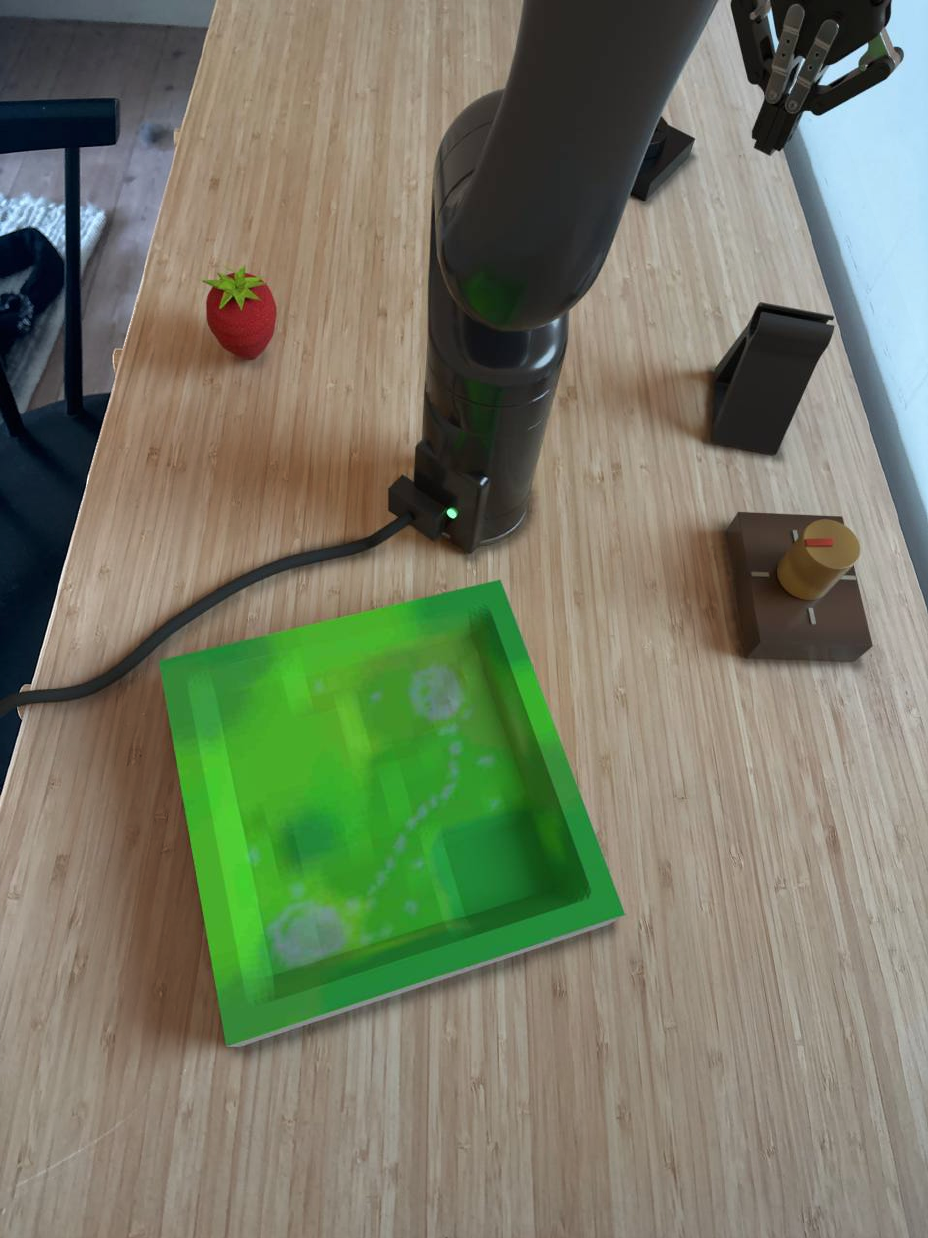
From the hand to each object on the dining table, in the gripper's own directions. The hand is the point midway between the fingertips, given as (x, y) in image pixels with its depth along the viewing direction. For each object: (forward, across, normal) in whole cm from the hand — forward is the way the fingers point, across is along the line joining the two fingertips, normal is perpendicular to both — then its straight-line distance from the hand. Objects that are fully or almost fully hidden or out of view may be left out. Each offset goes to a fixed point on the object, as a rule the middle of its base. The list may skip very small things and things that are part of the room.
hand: (767, 147), depth 68 cm
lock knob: (+16, +21, -21) cm, 34 cm away
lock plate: (+19, +21, -21) cm, 35 cm away
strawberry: (+19, -30, -30) cm, 47 cm away
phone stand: (+19, +9, -6) cm, 22 cm away
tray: (+19, +5, -55) cm, 59 cm away
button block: (+19, -18, +18) cm, 32 cm away
